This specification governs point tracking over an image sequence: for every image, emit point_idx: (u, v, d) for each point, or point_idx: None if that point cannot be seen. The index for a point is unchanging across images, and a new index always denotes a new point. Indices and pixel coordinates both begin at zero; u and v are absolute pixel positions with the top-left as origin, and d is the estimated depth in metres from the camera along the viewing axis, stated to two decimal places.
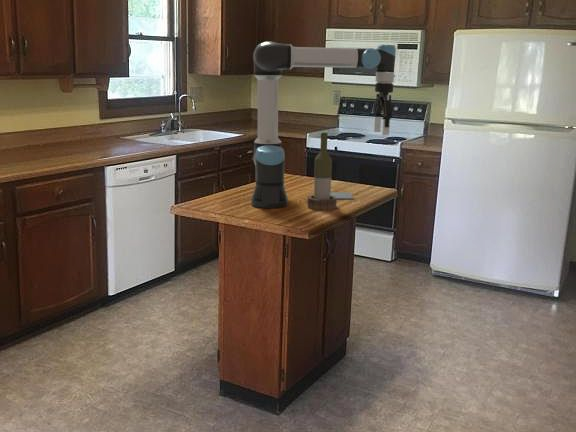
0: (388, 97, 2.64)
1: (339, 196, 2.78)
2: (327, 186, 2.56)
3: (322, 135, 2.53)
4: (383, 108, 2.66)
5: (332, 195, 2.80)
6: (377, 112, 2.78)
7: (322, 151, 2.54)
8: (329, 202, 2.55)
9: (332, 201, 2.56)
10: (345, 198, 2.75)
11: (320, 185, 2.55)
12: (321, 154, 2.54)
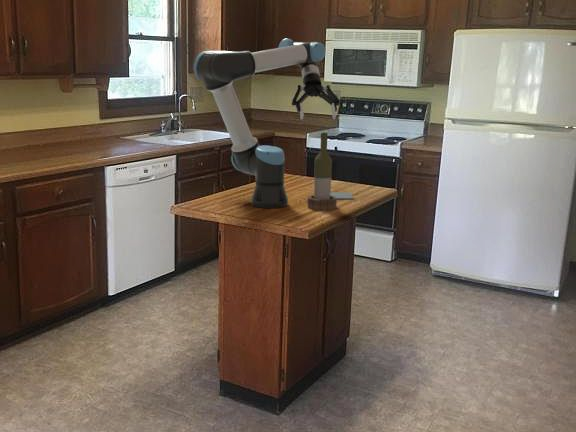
0: None
1: (339, 196, 2.78)
2: (327, 186, 2.56)
3: (322, 135, 2.53)
4: (327, 95, 2.68)
5: (332, 195, 2.80)
6: (302, 100, 2.65)
7: (322, 151, 2.54)
8: (329, 202, 2.55)
9: (332, 201, 2.56)
10: (345, 198, 2.75)
11: (320, 185, 2.55)
12: (321, 154, 2.54)
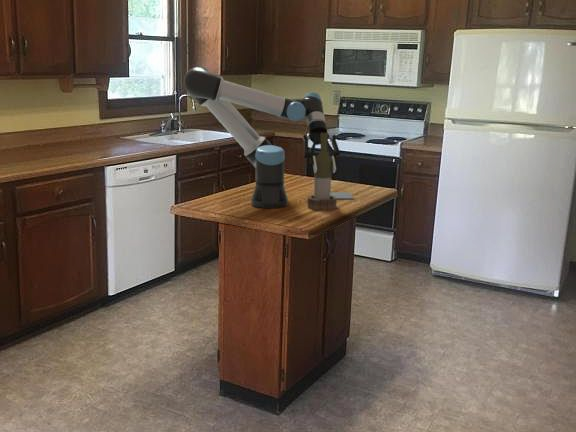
0: None
1: (339, 196, 2.78)
2: (327, 186, 2.56)
3: (322, 135, 2.53)
4: None
5: (332, 195, 2.80)
6: (313, 151, 2.57)
7: (322, 151, 2.54)
8: (329, 202, 2.55)
9: (332, 201, 2.56)
10: (345, 198, 2.75)
11: (320, 185, 2.55)
12: (321, 154, 2.54)
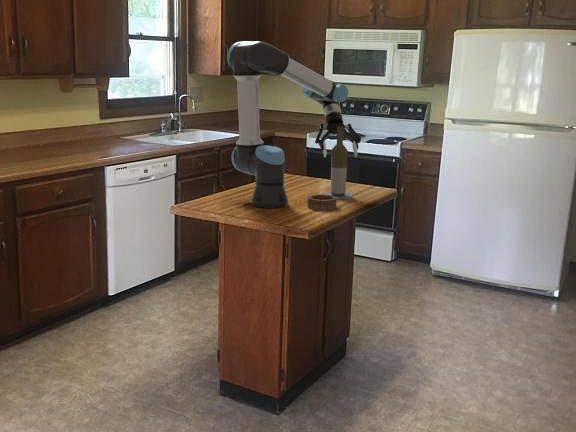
0: None
1: (339, 196, 2.78)
2: (343, 175, 2.76)
3: (338, 128, 2.73)
4: (349, 133, 2.80)
5: (332, 195, 2.80)
6: (325, 138, 2.77)
7: (338, 143, 2.74)
8: (329, 202, 2.55)
9: (332, 201, 2.56)
10: (345, 198, 2.75)
11: (337, 175, 2.75)
12: (337, 145, 2.74)
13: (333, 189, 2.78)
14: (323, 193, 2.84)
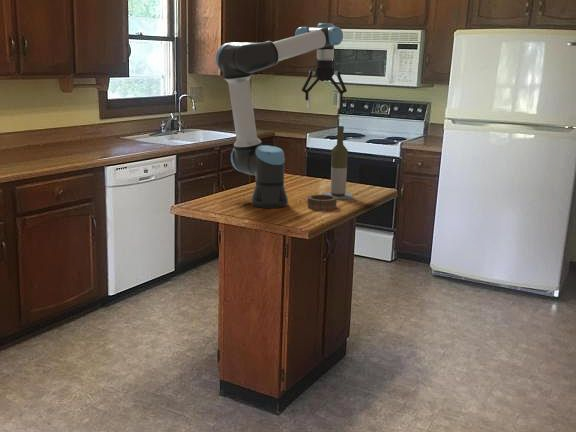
0: (339, 72, 2.87)
1: (339, 196, 2.78)
2: (343, 175, 2.76)
3: (339, 128, 2.73)
4: None
5: (332, 195, 2.80)
6: (311, 88, 2.87)
7: (339, 143, 2.74)
8: (329, 202, 2.55)
9: (332, 201, 2.56)
10: (345, 198, 2.75)
11: (337, 175, 2.75)
12: (338, 146, 2.74)
13: (333, 189, 2.78)
14: (323, 193, 2.84)
